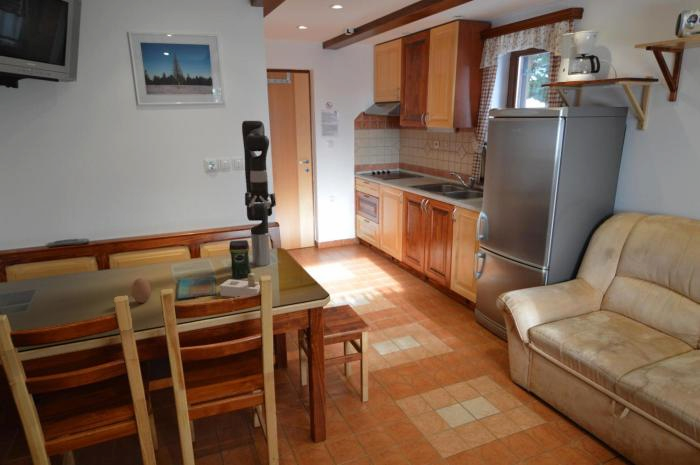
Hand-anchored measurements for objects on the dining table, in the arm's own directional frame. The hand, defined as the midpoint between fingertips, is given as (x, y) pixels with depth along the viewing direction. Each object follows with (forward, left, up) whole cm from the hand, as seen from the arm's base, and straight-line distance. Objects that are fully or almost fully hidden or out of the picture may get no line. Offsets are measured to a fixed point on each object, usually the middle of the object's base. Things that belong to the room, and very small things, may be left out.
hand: (261, 215), depth 200 cm
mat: (+5, -11, -33) cm, 35 cm away
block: (+16, -3, -33) cm, 37 cm away
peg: (+16, +2, -33) cm, 37 cm away
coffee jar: (-5, -15, -33) cm, 37 cm away
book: (+15, -27, -34) cm, 46 cm away
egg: (+34, -41, -33) cm, 63 cm away
